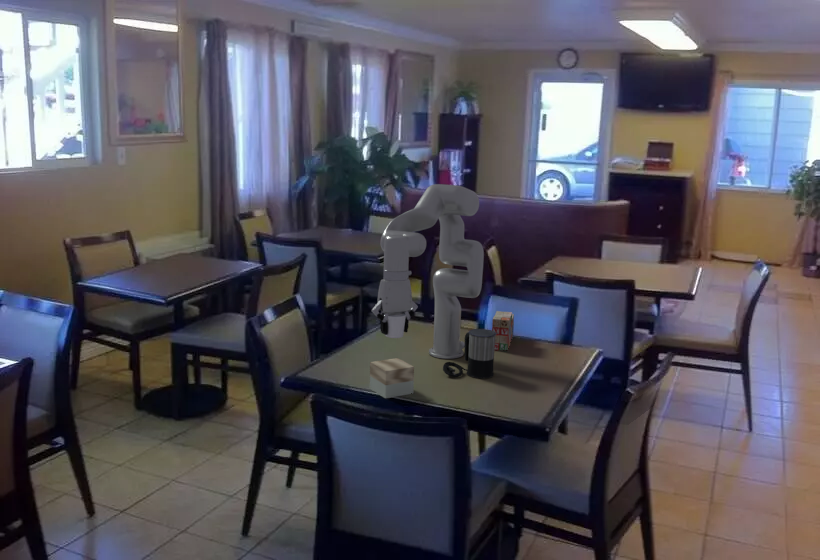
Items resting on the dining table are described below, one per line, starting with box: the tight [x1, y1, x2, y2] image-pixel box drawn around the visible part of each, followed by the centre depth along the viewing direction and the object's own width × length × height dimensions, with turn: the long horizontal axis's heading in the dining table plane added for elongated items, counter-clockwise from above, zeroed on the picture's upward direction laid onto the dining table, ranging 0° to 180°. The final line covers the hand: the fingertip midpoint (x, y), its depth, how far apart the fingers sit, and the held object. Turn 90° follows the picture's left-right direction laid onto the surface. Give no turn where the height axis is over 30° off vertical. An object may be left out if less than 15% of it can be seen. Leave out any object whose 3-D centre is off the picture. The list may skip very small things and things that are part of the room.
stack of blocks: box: [491, 310, 515, 351], centre depth 303 cm, size 21×6×12 cm, turn 167°
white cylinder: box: [384, 312, 406, 339], centre depth 244 cm, size 7×7×7 cm
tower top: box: [369, 357, 415, 385], centre depth 247 cm, size 10×10×4 cm
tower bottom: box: [369, 375, 415, 399], centre depth 248 cm, size 10×10×4 cm
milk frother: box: [442, 328, 496, 379], centre depth 264 cm, size 14×16×15 cm
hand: (394, 332), depth 245 cm, fingers closed on white cylinder, 6 cm apart
